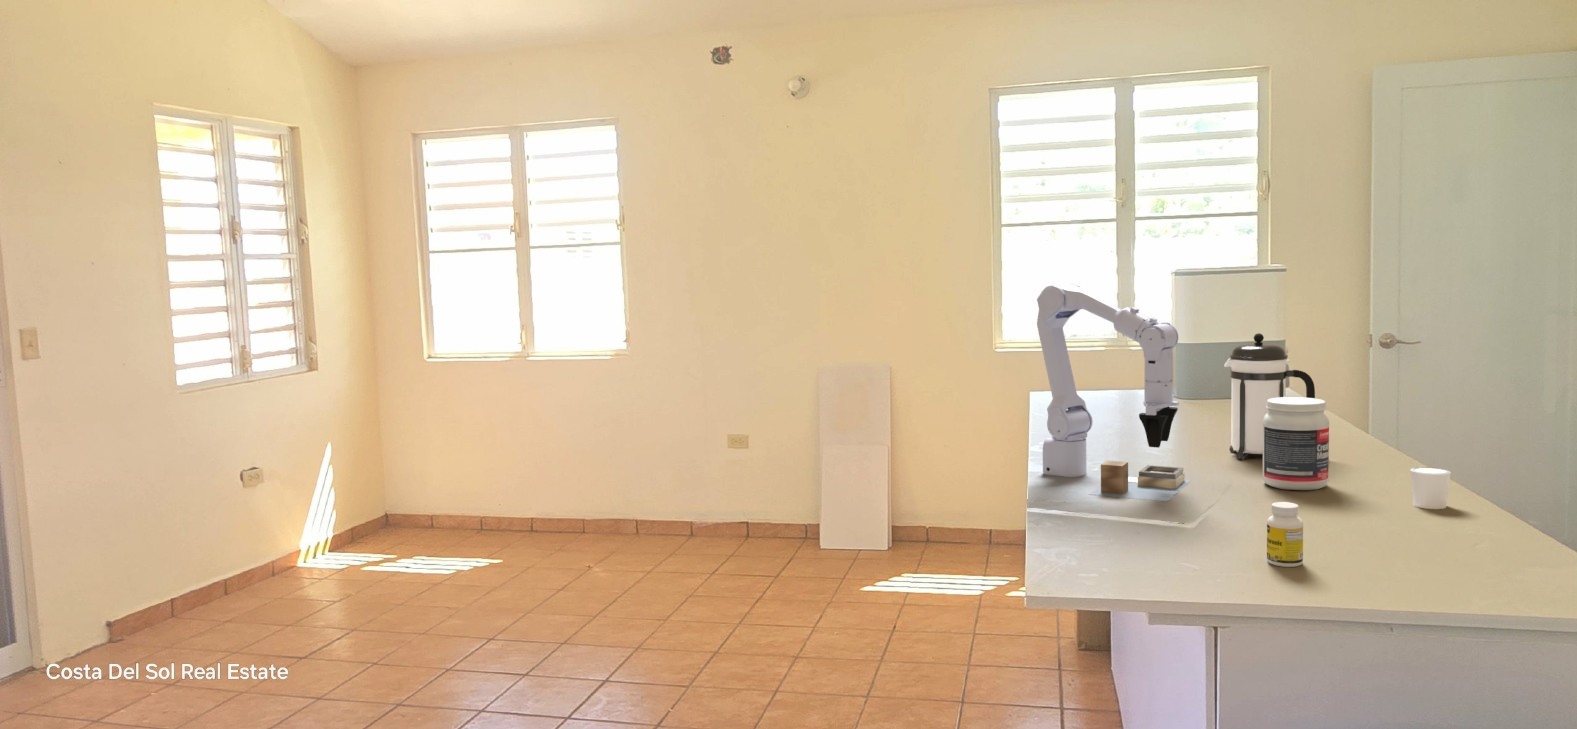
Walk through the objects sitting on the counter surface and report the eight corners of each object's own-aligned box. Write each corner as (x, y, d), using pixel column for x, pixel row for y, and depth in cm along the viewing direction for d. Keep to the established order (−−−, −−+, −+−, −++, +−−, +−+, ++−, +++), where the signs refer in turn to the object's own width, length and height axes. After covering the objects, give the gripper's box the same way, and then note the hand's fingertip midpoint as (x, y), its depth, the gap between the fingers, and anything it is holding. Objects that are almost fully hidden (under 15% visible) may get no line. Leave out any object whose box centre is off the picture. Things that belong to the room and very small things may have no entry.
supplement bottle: (1260, 559, 179) (1260, 501, 178) (1291, 557, 179) (1292, 499, 178) (1277, 568, 174) (1278, 509, 172) (1309, 566, 174) (1310, 507, 173)
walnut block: (1100, 492, 227) (1100, 464, 226) (1107, 488, 231) (1106, 460, 230) (1122, 494, 225) (1122, 466, 224) (1128, 489, 228) (1128, 462, 228)
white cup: (1445, 502, 211) (1446, 467, 210) (1454, 510, 205) (1455, 474, 204) (1405, 500, 213) (1406, 466, 213) (1413, 509, 207) (1414, 473, 206)
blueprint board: (1088, 498, 226) (1088, 480, 225) (1117, 477, 244) (1117, 461, 244) (1167, 505, 217) (1167, 486, 217) (1191, 483, 236) (1191, 466, 235)
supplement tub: (1336, 492, 222) (1337, 404, 220) (1270, 492, 225) (1270, 405, 223) (1318, 479, 235) (1320, 396, 233) (1256, 478, 238) (1256, 396, 236)
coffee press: (1266, 465, 251) (1267, 337, 248) (1211, 455, 265) (1211, 333, 262) (1316, 456, 259) (1317, 332, 256) (1259, 446, 273) (1260, 329, 270)
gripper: (1170, 385, 219) (1170, 451, 221) (1185, 377, 232) (1185, 439, 233) (1135, 384, 223) (1135, 448, 224) (1151, 376, 235) (1151, 437, 237)
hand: (1158, 443), depth 229 cm, fingers open, 7 cm apart
